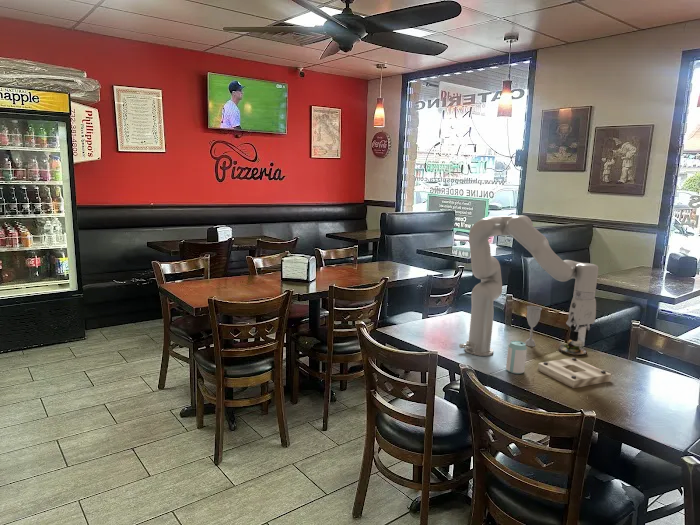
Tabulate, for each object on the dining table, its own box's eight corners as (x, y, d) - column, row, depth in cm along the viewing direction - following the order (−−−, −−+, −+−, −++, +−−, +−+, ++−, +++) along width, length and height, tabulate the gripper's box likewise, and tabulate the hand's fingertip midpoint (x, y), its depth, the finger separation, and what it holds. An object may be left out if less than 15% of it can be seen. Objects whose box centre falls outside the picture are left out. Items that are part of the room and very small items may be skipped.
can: (511, 366, 201) (514, 338, 199) (527, 371, 196) (530, 343, 194) (502, 370, 196) (505, 342, 194) (519, 376, 192) (522, 347, 189)
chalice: (539, 347, 226) (544, 310, 222) (525, 346, 226) (529, 309, 222) (534, 342, 233) (538, 306, 229) (520, 341, 233) (524, 305, 230)
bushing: (578, 347, 189) (580, 327, 188) (568, 343, 193) (571, 323, 192) (586, 345, 191) (589, 326, 190) (577, 342, 195) (579, 322, 194)
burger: (556, 353, 219) (559, 338, 218) (559, 346, 230) (561, 331, 228) (586, 359, 214) (588, 343, 212) (587, 351, 224) (589, 336, 223)
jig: (573, 388, 183) (574, 379, 182) (537, 369, 199) (538, 361, 198) (610, 381, 191) (611, 372, 190) (572, 364, 207) (574, 356, 206)
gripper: (576, 298, 182) (570, 345, 185) (607, 295, 189) (601, 340, 192) (560, 294, 189) (554, 338, 192) (591, 291, 195) (585, 334, 199)
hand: (578, 339), depth 192 cm, fingers closed on bushing, 4 cm apart
